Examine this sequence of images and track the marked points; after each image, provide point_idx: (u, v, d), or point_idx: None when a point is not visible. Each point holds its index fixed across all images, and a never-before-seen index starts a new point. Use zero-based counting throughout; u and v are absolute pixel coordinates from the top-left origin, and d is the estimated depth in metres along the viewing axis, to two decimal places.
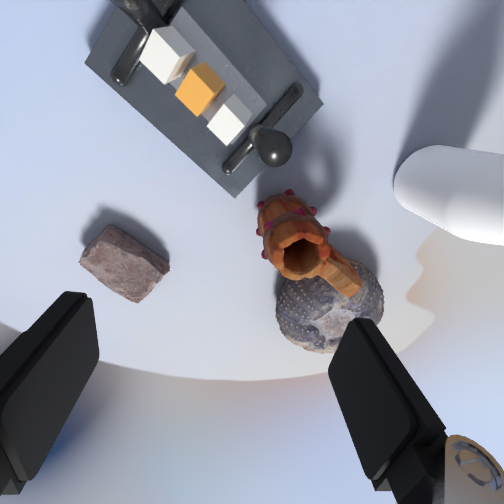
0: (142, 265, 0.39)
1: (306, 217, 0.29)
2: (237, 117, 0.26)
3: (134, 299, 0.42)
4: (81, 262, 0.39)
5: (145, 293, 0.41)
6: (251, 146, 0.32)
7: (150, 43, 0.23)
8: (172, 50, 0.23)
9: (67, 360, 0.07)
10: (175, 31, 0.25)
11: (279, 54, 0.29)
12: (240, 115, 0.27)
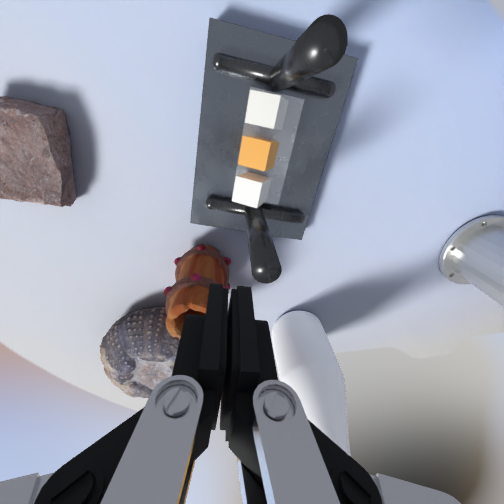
0: (51, 179, 0.30)
1: None
2: (259, 199, 0.28)
3: None
4: None
5: (18, 199, 0.31)
6: (241, 212, 0.34)
7: (268, 96, 0.24)
8: (274, 120, 0.25)
9: None
10: (286, 106, 0.27)
11: (313, 189, 0.35)
12: (261, 198, 0.29)
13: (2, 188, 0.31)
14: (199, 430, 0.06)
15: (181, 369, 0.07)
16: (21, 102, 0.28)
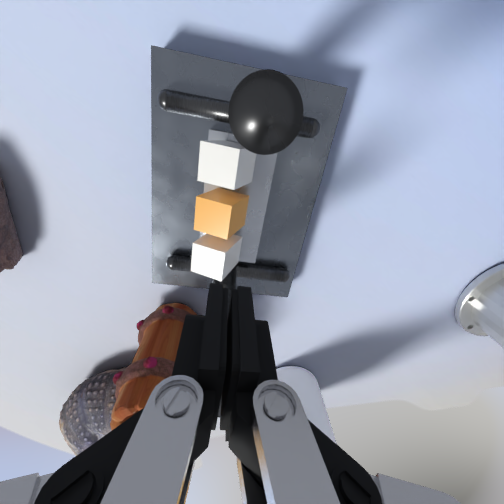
0: None
1: None
2: (223, 271, 0.22)
3: None
4: None
5: None
6: None
7: (224, 150, 0.18)
8: (234, 179, 0.19)
9: None
10: (254, 155, 0.21)
11: (298, 242, 0.28)
12: (228, 266, 0.23)
13: None
14: (199, 430, 0.06)
15: (181, 369, 0.07)
16: None
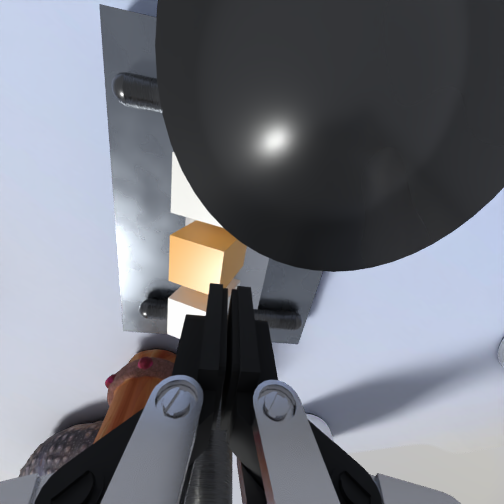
0: None
1: None
2: None
3: None
4: None
5: None
6: None
7: None
8: None
9: None
10: None
11: (313, 279, 0.22)
12: None
13: None
14: (199, 430, 0.06)
15: (181, 369, 0.07)
16: None
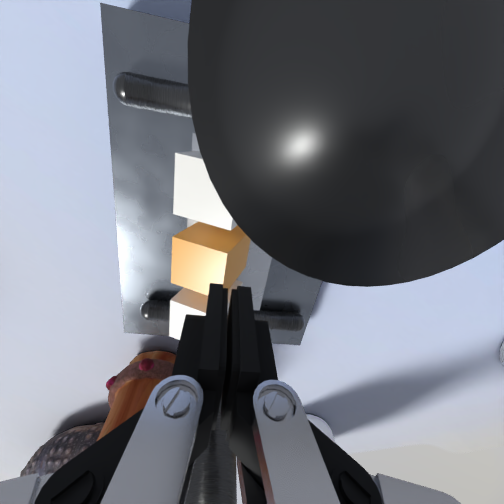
0: None
1: None
2: None
3: None
4: None
5: None
6: None
7: None
8: None
9: None
10: None
11: (316, 280, 0.21)
12: None
13: None
14: (199, 430, 0.06)
15: (181, 369, 0.07)
16: None
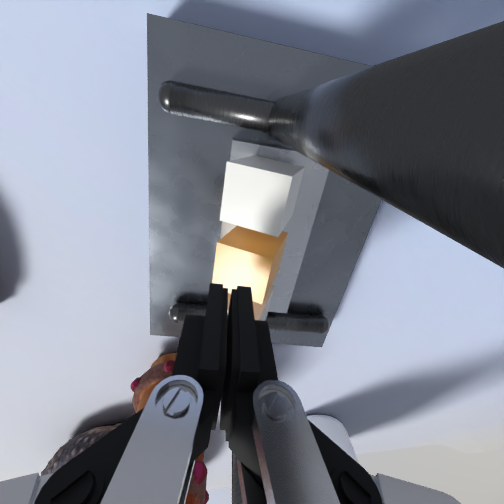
0: None
1: (199, 489, 0.18)
2: None
3: None
4: None
5: None
6: None
7: (266, 177, 0.11)
8: (279, 222, 0.12)
9: None
10: (300, 179, 0.14)
11: (341, 283, 0.22)
12: None
13: None
14: (199, 430, 0.06)
15: (181, 369, 0.07)
16: None
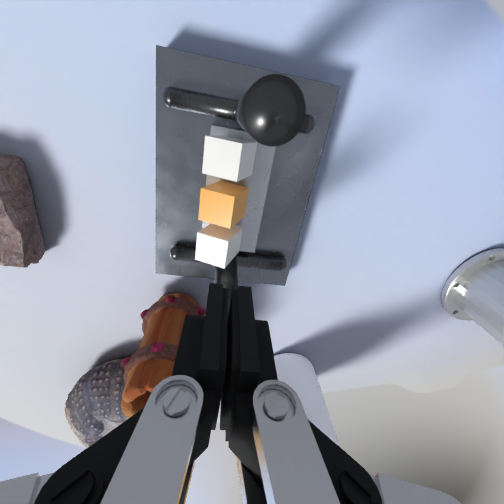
0: (9, 239, 0.26)
1: None
2: (226, 258, 0.24)
3: None
4: None
5: None
6: None
7: (228, 144, 0.19)
8: (237, 172, 0.20)
9: None
10: (254, 149, 0.22)
11: (295, 232, 0.30)
12: (230, 254, 0.25)
13: None
14: (199, 430, 0.06)
15: (181, 369, 0.07)
16: None
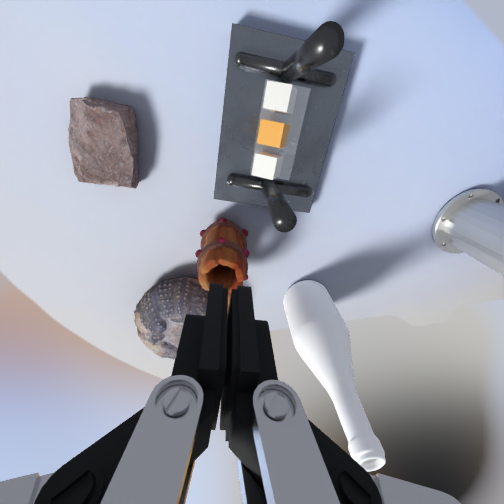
0: (125, 164, 0.37)
1: (245, 259, 0.37)
2: (274, 172, 0.34)
3: (80, 175, 0.37)
4: (74, 101, 0.34)
5: (97, 182, 0.38)
6: (258, 187, 0.40)
7: (282, 85, 0.30)
8: (287, 105, 0.30)
9: None
10: (295, 94, 0.33)
11: (318, 167, 0.40)
12: (276, 172, 0.35)
13: (85, 173, 0.37)
14: (199, 430, 0.06)
15: (181, 369, 0.07)
16: (104, 101, 0.34)
